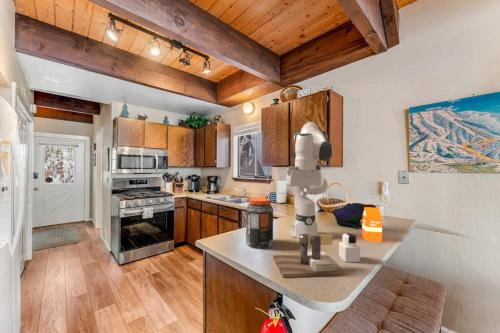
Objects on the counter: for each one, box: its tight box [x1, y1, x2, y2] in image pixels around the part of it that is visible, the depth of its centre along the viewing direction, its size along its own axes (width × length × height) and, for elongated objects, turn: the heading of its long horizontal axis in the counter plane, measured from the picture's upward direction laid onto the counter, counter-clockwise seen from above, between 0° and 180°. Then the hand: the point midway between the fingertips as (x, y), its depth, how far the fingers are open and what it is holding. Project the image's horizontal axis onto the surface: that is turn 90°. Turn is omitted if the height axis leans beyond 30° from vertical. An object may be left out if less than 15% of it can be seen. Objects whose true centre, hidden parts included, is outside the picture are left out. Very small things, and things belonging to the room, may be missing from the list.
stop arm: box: [299, 233, 334, 246], centre depth 97 cm, size 14×4×4 cm, turn 95°
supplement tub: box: [245, 197, 274, 249], centre depth 124 cm, size 16×16×26 cm
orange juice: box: [361, 207, 383, 243], centre depth 135 cm, size 8×9×20 cm
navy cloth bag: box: [332, 202, 377, 230], centre depth 162 cm, size 21×26×30 cm
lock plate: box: [272, 235, 341, 279], centre depth 96 cm, size 18×24×14 cm
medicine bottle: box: [338, 232, 361, 263], centre depth 105 cm, size 7×7×12 cm
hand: (303, 195), depth 104 cm, fingers closed
